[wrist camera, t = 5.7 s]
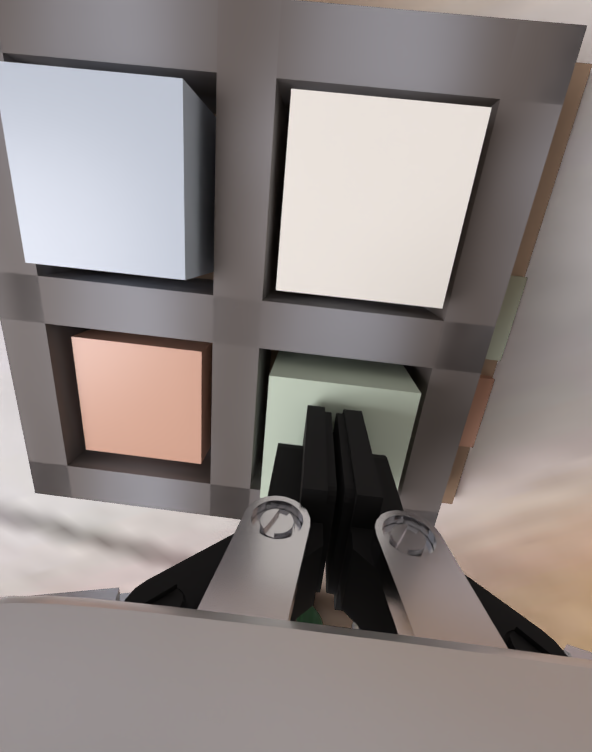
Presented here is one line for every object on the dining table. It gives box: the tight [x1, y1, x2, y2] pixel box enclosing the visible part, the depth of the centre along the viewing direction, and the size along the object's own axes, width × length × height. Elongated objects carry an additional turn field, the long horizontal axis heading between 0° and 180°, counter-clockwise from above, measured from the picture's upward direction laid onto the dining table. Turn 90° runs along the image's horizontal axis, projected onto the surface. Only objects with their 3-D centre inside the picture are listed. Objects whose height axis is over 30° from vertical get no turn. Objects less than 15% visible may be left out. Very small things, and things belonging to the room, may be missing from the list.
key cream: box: [276, 89, 492, 308], centre depth 10 cm, size 4×4×3 cm
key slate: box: [0, 61, 216, 280], centre depth 10 cm, size 4×4×3 cm
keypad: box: [0, 0, 592, 526], centre depth 13 cm, size 20×17×4 cm
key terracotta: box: [71, 329, 213, 464], centre depth 14 cm, size 4×4×3 cm
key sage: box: [260, 350, 421, 498], centre depth 13 cm, size 4×4×3 cm
